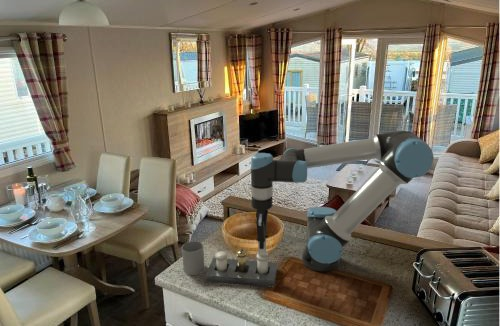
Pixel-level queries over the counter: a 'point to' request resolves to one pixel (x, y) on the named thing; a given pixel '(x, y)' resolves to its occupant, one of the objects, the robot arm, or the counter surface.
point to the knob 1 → (221, 261)
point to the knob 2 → (262, 264)
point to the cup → (193, 257)
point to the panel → (242, 274)
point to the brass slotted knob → (241, 259)
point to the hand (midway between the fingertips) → (262, 254)
